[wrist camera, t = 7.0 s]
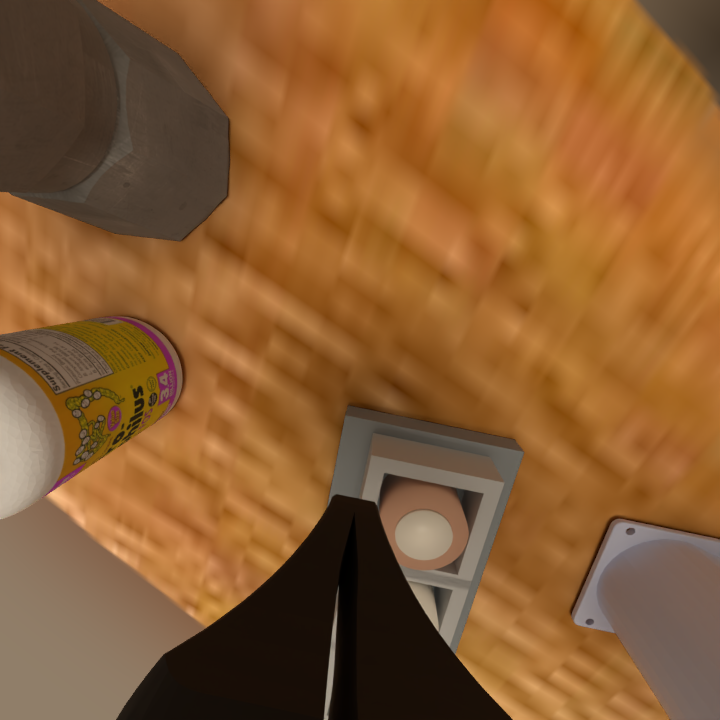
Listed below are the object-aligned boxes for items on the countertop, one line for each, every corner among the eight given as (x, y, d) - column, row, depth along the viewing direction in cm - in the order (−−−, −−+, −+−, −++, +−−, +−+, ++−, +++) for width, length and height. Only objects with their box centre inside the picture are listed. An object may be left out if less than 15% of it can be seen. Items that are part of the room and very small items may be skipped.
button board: (514, 439, 21) (543, 477, 18) (432, 686, 26) (441, 758, 23) (347, 405, 22) (339, 435, 18) (297, 657, 27) (283, 723, 23)
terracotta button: (465, 471, 20) (480, 507, 17) (446, 536, 21) (456, 581, 18) (388, 455, 20) (389, 488, 17) (372, 521, 22) (370, 563, 18)
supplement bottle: (149, 440, 23) (-126, 643, 11) (61, 372, 22) (-348, 505, 10) (209, 365, 22) (-28, 497, 9) (117, 289, 21) (-281, 320, 8)
